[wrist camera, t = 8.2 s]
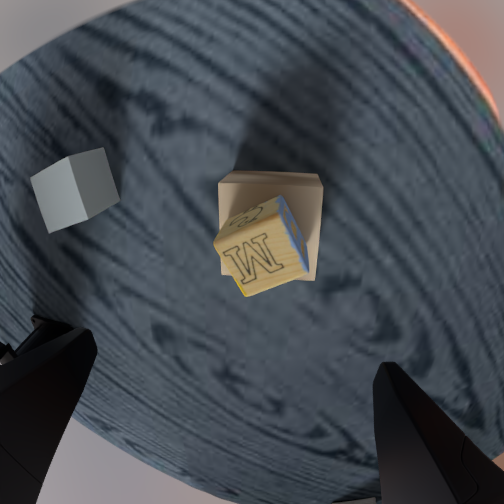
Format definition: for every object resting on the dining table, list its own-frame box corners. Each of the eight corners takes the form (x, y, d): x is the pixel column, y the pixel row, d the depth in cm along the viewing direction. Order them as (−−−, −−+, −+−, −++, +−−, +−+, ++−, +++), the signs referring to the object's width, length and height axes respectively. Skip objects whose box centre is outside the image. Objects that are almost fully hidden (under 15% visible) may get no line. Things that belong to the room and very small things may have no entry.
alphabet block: (308, 247, 15) (311, 275, 12) (253, 269, 16) (245, 301, 13) (282, 192, 14) (279, 210, 12) (225, 219, 15) (210, 242, 12)
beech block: (234, 245, 20) (221, 274, 17) (233, 169, 18) (218, 183, 14) (311, 249, 20) (314, 280, 16) (316, 173, 17) (323, 187, 14)
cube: (81, 214, 20) (48, 233, 17) (65, 165, 19) (30, 177, 15) (121, 200, 20) (88, 219, 16) (104, 147, 18) (67, 156, 14)
